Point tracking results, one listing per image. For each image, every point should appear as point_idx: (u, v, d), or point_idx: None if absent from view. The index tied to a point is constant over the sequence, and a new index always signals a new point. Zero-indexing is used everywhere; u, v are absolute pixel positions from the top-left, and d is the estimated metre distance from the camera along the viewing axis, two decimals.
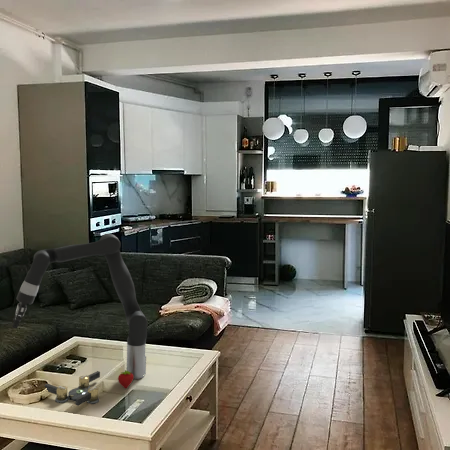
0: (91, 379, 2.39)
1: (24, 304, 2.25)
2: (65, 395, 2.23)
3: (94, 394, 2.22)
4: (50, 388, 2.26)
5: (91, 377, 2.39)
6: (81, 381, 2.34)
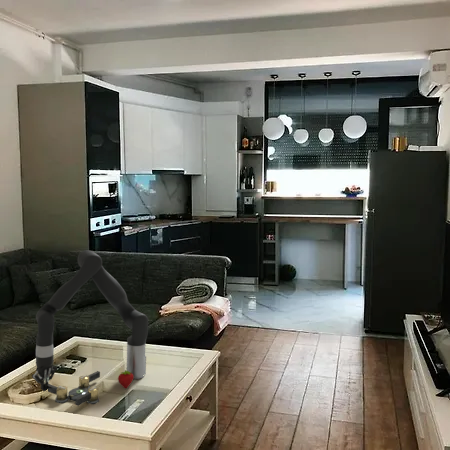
0: (91, 379, 2.39)
1: (38, 367, 2.21)
2: (65, 395, 2.23)
3: (94, 394, 2.22)
4: (50, 388, 2.26)
5: (91, 377, 2.39)
6: (81, 381, 2.34)
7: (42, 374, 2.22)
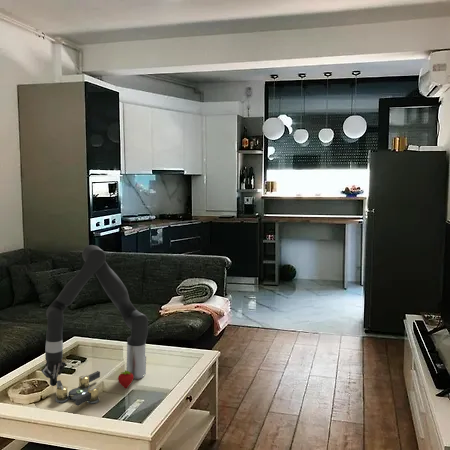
0: (91, 379, 2.39)
1: (48, 362, 2.26)
2: (63, 396, 2.22)
3: (94, 394, 2.22)
4: (57, 385, 2.29)
5: (91, 377, 2.39)
6: (81, 381, 2.34)
7: (51, 369, 2.27)
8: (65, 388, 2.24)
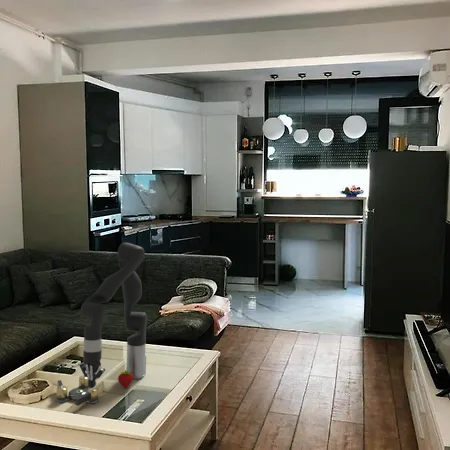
0: None
1: None
2: (62, 396, 2.22)
3: (94, 394, 2.22)
4: (58, 385, 2.29)
5: None
6: (81, 381, 2.34)
7: (86, 367, 2.12)
8: (65, 388, 2.24)
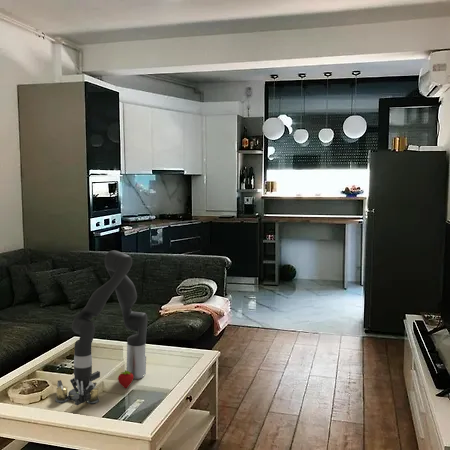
0: None
1: None
2: (62, 396, 2.22)
3: (94, 394, 2.22)
4: (58, 385, 2.29)
5: (91, 377, 2.39)
6: None
7: (77, 382, 2.15)
8: (65, 388, 2.24)
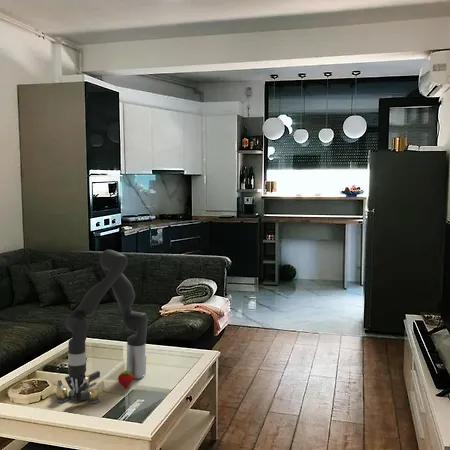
0: (91, 379, 2.39)
1: None
2: (62, 396, 2.22)
3: (91, 395, 2.22)
4: (58, 385, 2.29)
5: (91, 377, 2.39)
6: None
7: (71, 380, 2.17)
8: (65, 388, 2.24)
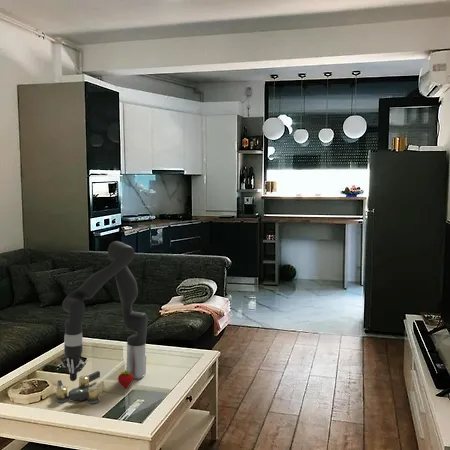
0: (91, 379, 2.39)
1: None
2: (62, 396, 2.22)
3: (90, 394, 2.22)
4: (58, 385, 2.29)
5: (91, 377, 2.39)
6: (81, 381, 2.34)
7: None
8: (65, 388, 2.24)
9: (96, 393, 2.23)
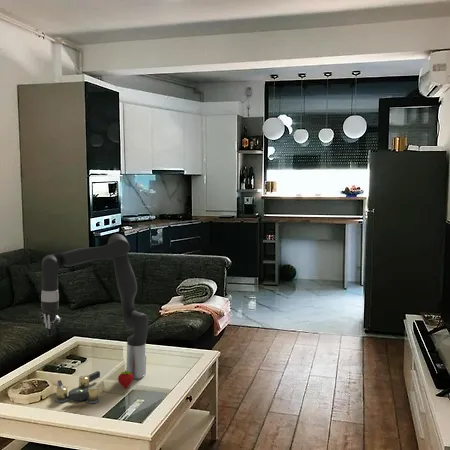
0: (91, 379, 2.39)
1: None
2: (62, 396, 2.22)
3: (90, 394, 2.22)
4: (58, 385, 2.29)
5: (91, 377, 2.39)
6: (81, 381, 2.34)
7: None
8: (65, 388, 2.24)
9: (96, 393, 2.23)
